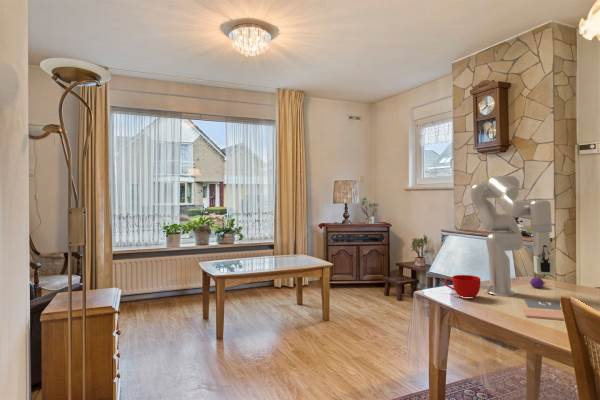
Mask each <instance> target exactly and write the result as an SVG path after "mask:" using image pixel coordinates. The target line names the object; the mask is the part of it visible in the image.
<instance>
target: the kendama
mask: <svg viewBox="0 0 600 400" xmlns="http://www.w3.org/2000/svg"><path fill="white" fill-rule="evenodd" d="M530 285H531V287H533V288H534V289H541V288H543V286H544V280H543V279H542V278H541V276H539V275H535V277H532V278H531V280H530Z"/></svg>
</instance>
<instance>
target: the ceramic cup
mask: <svg viewBox="0 0 600 400" xmlns="http://www.w3.org/2000/svg"><path fill="white" fill-rule="evenodd" d="M448 280H449V281H451V283H452V285H453V287H452V286H450V285H448V283H447V281H448ZM480 284H481V278H480V277H479V276H477V275H471V274H470V275H469V274H456V275H453V276H452V278H449V277H448V278H445V279H444V285H445V286H446V287H447V288H449V289H451V290H453V291H455V293H456V295H458V296H459V295H460V296H463V297H474V298H475V297H476V296H478V295H479V292H480V291H481V290H480V289H481V288H480ZM460 296H459V297H460Z"/></svg>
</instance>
